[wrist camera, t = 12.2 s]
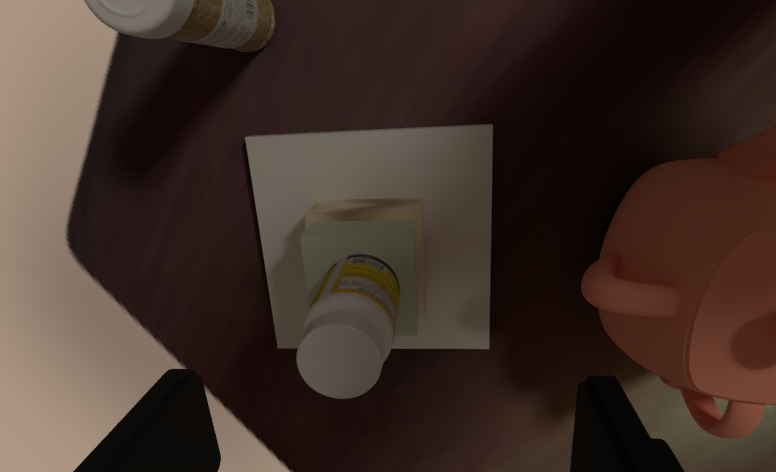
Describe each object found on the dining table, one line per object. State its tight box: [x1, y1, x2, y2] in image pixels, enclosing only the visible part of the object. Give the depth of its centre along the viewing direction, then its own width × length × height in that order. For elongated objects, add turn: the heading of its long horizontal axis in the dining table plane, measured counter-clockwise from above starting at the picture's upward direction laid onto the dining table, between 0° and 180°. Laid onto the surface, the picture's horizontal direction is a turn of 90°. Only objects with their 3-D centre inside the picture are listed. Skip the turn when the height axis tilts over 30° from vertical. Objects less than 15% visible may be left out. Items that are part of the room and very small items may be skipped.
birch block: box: [304, 197, 427, 319], centre depth 33 cm, size 8×8×4 cm
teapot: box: [581, 127, 776, 438], centre depth 27 cm, size 16×17×14 cm
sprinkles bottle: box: [84, 0, 276, 52], centre depth 25 cm, size 5×5×13 cm
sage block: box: [300, 219, 419, 335], centre depth 30 cm, size 7×7×3 cm
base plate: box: [245, 124, 493, 349], centre depth 35 cm, size 18×18×1 cm
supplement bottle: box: [296, 253, 400, 399], centre depth 24 cm, size 5×5×8 cm
